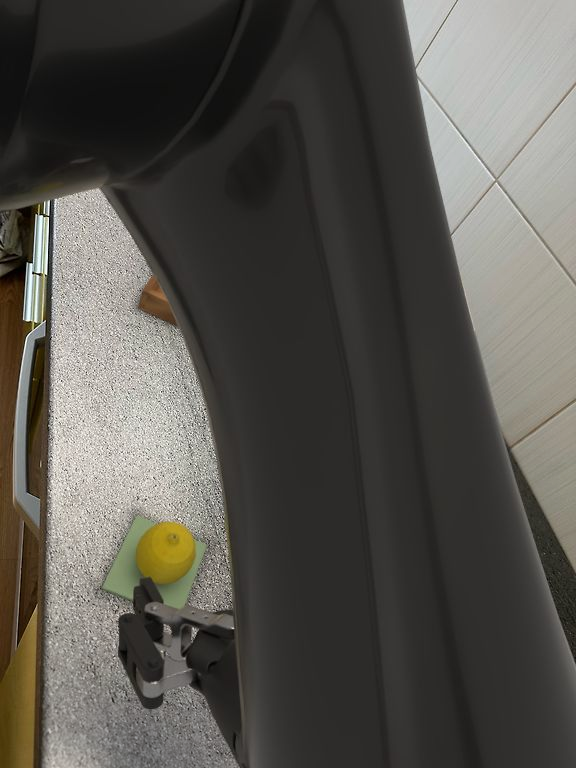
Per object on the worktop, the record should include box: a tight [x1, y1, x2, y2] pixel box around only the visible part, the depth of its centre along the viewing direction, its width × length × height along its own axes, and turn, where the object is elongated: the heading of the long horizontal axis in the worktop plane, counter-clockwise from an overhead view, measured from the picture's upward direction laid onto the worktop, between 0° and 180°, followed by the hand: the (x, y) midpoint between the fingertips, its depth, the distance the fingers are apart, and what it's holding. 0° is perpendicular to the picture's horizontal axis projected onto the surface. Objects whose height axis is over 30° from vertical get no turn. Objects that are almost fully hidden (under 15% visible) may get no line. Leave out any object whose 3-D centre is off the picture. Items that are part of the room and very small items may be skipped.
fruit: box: [136, 521, 196, 584], centre depth 54 cm, size 6×6×8 cm
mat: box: [101, 514, 208, 609], centre depth 58 cm, size 8×8×1 cm
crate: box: [137, 273, 178, 327], centre depth 81 cm, size 14×14×4 cm
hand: (200, 578), depth 43 cm, fingers open, 8 cm apart
